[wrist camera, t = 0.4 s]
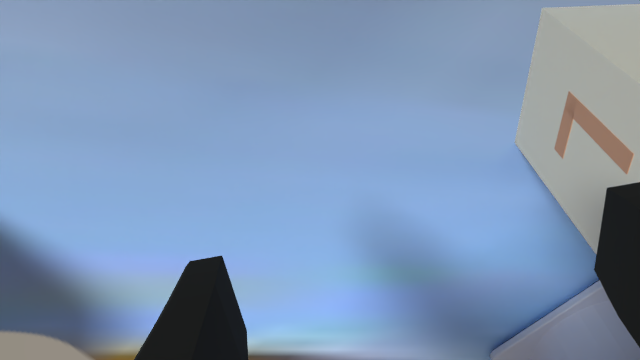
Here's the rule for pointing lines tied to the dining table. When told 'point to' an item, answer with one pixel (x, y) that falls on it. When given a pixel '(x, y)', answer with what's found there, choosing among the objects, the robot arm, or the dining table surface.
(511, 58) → the dining table surface
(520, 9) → the dining table surface
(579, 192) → the block
